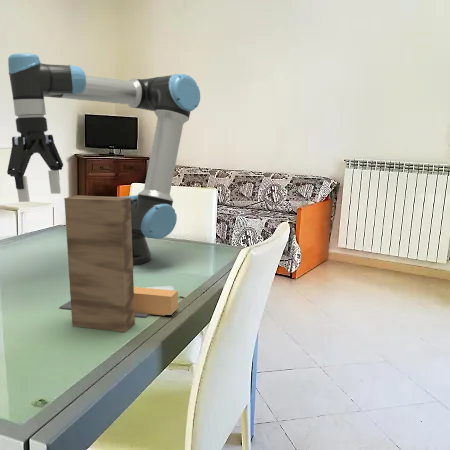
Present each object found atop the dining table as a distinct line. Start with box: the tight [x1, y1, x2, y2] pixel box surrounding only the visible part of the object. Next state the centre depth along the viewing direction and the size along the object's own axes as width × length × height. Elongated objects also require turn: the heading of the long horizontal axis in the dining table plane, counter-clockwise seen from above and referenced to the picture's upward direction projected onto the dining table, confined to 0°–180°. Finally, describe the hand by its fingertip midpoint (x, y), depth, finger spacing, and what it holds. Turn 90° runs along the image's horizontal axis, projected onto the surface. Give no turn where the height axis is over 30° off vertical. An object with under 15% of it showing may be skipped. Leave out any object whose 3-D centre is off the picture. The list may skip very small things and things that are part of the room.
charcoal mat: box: [58, 300, 151, 319], centre depth 120 cm, size 8×24×1 cm, turn 75°
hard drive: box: [145, 285, 175, 291], centre depth 128 cm, size 2×8×12 cm
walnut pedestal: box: [64, 195, 136, 333], centre depth 106 cm, size 5×14×30 cm, turn 75°
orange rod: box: [134, 286, 179, 316], centre depth 118 cm, size 4×22×5 cm, turn 76°
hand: (40, 197), depth 126 cm, fingers open, 13 cm apart
